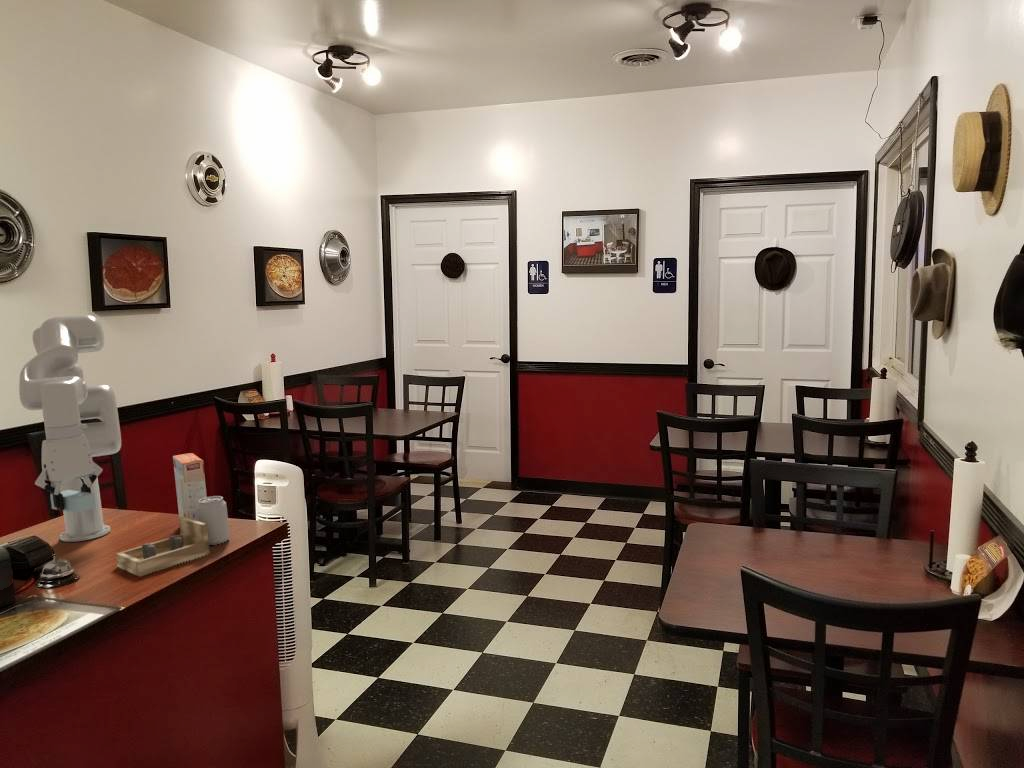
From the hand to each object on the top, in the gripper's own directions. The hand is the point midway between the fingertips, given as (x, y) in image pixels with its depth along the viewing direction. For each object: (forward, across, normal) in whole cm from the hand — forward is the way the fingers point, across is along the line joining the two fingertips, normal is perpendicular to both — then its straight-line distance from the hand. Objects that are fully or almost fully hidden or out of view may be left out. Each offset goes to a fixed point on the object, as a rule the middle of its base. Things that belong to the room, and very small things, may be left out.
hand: (73, 505), depth 191 cm
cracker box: (+17, -34, -9) cm, 39 cm away
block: (+1, 0, 0) cm, 1 cm away
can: (+17, -31, +7) cm, 36 cm away
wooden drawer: (+17, -16, +9) cm, 25 cm away
